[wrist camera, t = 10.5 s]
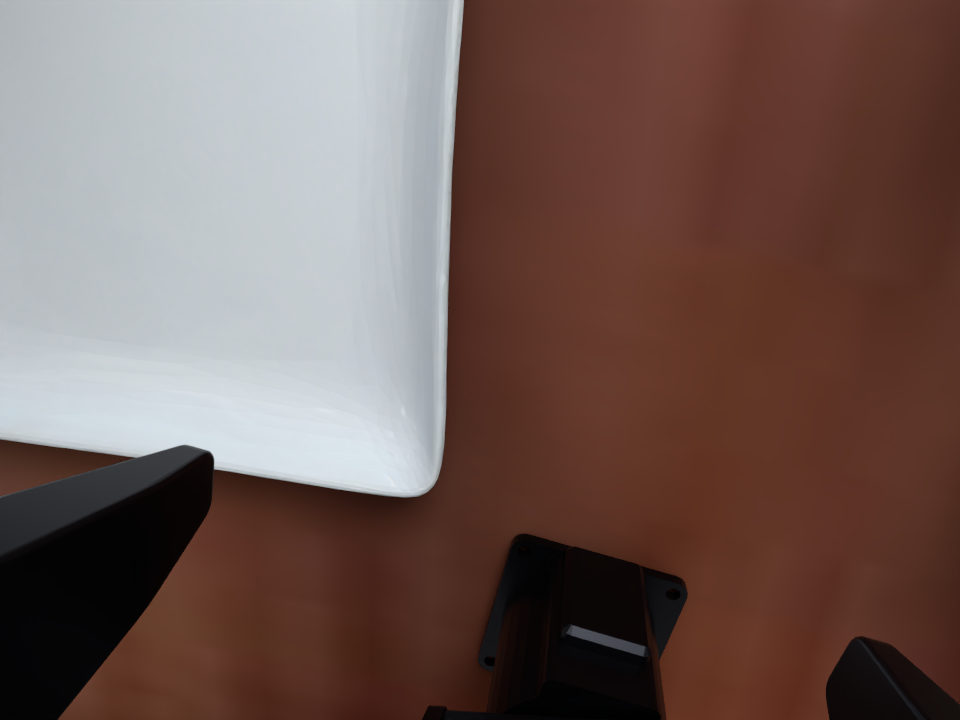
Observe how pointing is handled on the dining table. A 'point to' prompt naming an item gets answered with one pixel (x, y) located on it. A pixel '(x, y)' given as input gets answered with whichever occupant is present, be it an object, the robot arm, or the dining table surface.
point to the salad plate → (230, 232)
